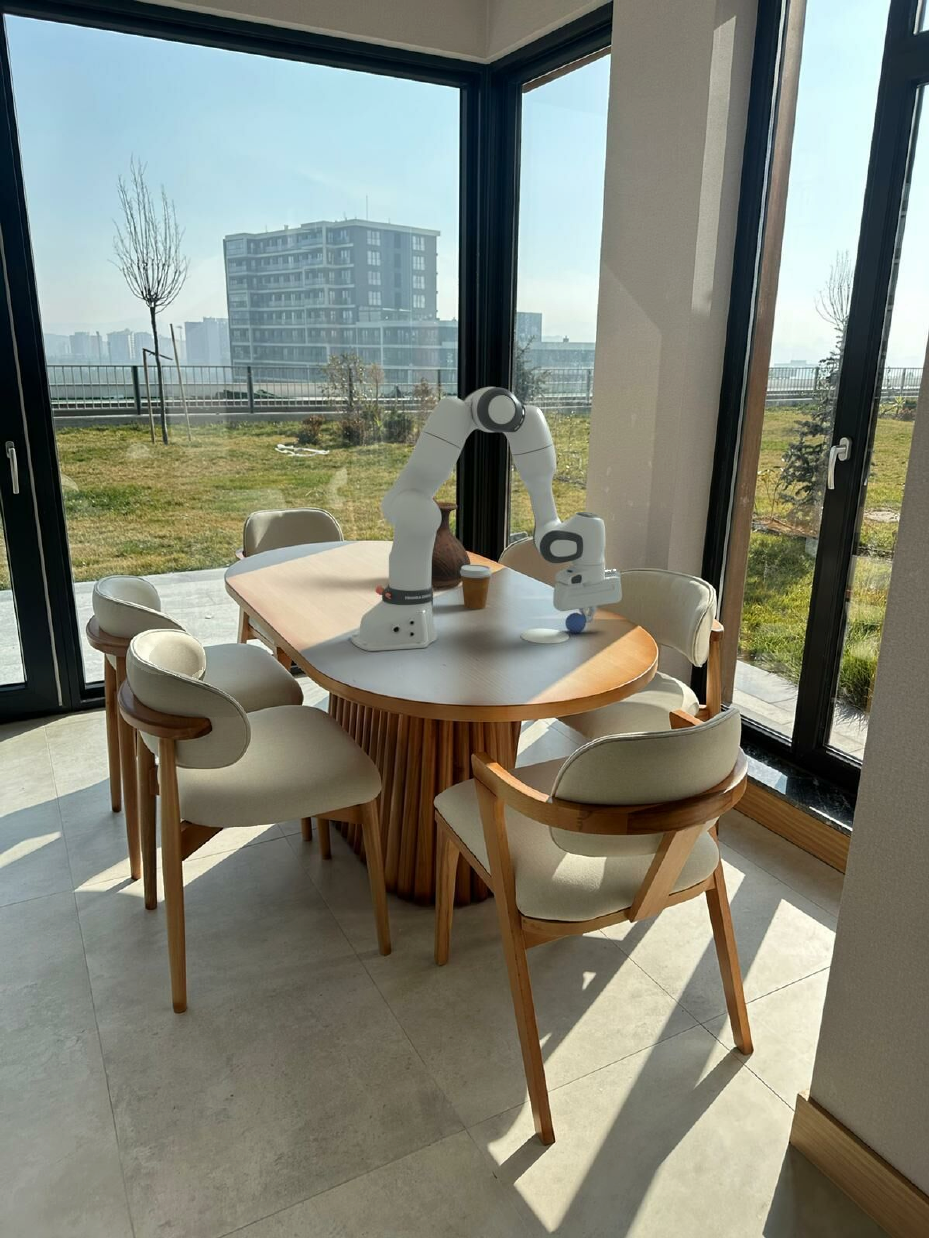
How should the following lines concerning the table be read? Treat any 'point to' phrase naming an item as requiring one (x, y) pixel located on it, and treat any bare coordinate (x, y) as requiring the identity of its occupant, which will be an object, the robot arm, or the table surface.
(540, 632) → the disc
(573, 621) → the ball
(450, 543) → the jug
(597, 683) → the table surface
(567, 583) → the robot arm
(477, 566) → the disposable coffee cup
